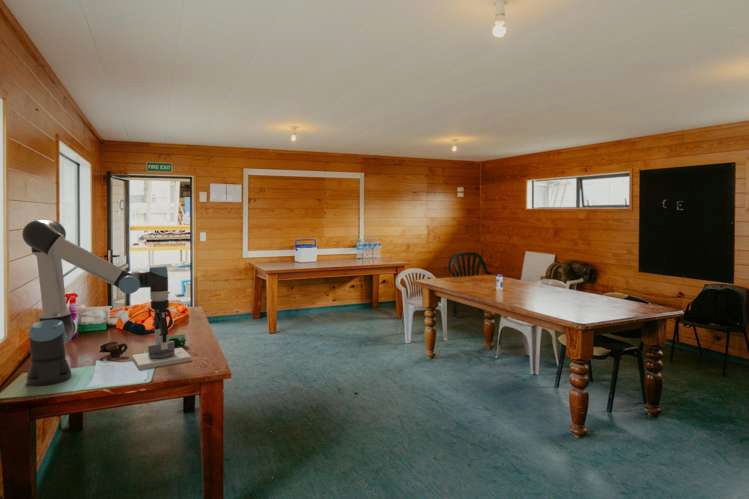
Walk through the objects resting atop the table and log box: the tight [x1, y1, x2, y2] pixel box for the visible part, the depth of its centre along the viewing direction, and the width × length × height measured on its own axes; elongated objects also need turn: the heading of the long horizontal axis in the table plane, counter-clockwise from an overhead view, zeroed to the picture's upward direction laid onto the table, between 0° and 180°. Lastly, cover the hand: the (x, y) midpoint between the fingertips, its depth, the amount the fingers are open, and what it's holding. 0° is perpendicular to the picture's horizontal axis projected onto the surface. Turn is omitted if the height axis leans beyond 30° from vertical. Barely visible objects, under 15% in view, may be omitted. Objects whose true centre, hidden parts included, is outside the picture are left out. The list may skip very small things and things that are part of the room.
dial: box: [147, 341, 176, 359], centre depth 222 cm, size 11×11×6 cm
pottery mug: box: [98, 341, 128, 361], centre depth 227 cm, size 12×10×8 cm
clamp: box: [167, 333, 187, 348], centre depth 242 cm, size 12×6×9 cm, turn 112°
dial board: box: [131, 347, 192, 370], centre depth 222 cm, size 22×18×2 cm
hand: (161, 346), depth 222 cm, fingers open, 12 cm apart
